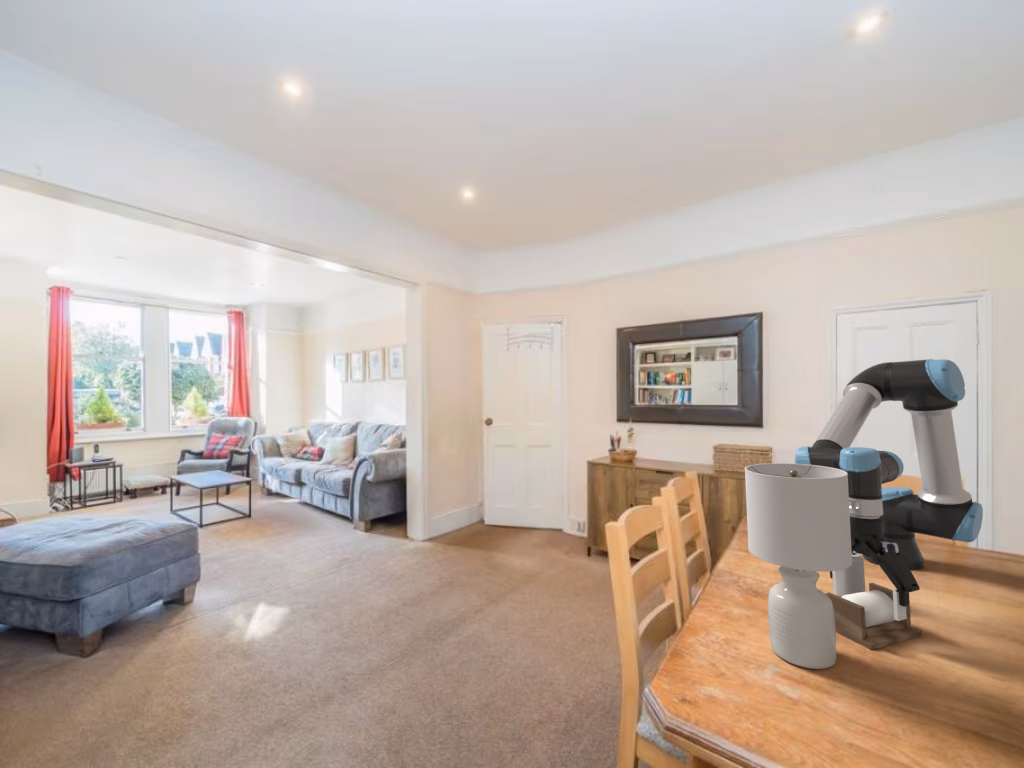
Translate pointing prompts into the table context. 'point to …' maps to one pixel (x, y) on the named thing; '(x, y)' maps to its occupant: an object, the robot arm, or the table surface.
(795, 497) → the lamp
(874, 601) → the cylinder
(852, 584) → the beverage can
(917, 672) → the table surface
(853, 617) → the holder
